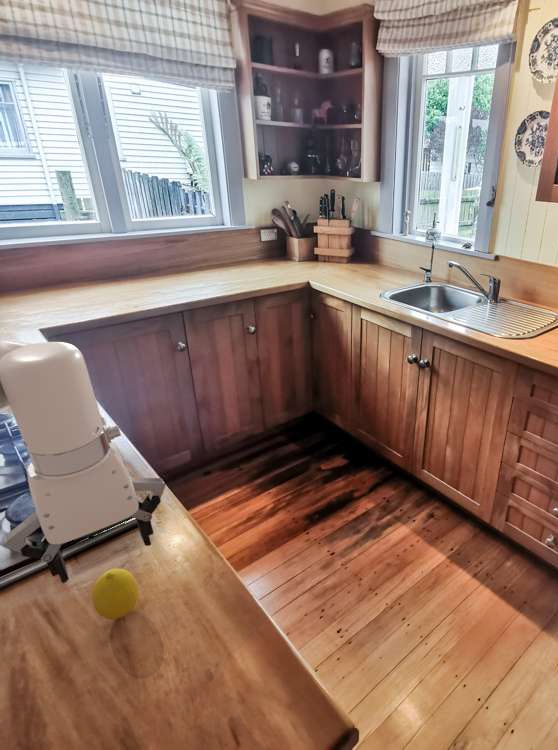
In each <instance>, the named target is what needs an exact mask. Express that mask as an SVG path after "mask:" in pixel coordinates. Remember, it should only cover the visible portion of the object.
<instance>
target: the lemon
mask: <svg viewBox="0 0 558 750" xmlns="http://www.w3.org/2000/svg"><path fill="white" fill-rule="evenodd" d="M139 592H140V591H139V584H138V581H137V580H136V578H135V577H134V575H133V574H132V573H131V572H130V571H128V570H127V569H123V568H112V569H109V570H107V571H105V572H103V573H102V574H101V575H100V576H99V577H98V578H97V579H96V581H95V582H94V584H93V587H92V593H91V600H92V604H93V605H92V606H93V608H94V610H95V611H96V613H97V614H98V615H99V616H100V617H102V618H104V619H107V620H117V619H121V618H123V617H125V616H126V615H128V614H129V613H130V612H131V611H132V610H133V609H134V608H135V606H136V604H137V602H138V599H139V594H140V593H139Z"/></svg>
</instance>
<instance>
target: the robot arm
mask: <svg viewBox="0 0 558 750" xmlns="http://www.w3.org/2000/svg"><path fill="white" fill-rule="evenodd" d="M93 388H94V387H93V385H92V382H91V378H90V374H89V371H88V367H87V364H86V360H85V358H84V355H83V354H82V352H81V350H79V349H78V348H77V347H76V346H75V345H73V344H71V343H67V342H65V341H45V342H43V341H42V342H36V343H31V342H25V341H20V340H17V339H11V338H7V337H1V336H0V410H2V409H4V408H6V407H8V406H9V408H10V410H11V412H12V415H13V418H14V421H15V423H16V425H17V429H18V430H19V433H20V435H21V438H22V441H23V444H24V446H25V449H26V451H27V454H28V456H29V459H30V461H31V462H30V463H29V464H28V466H27V468H26V473H27V474H26V476H27V482H28V488H29V492H30V496H31V500H32V503H33V506H34V510H35V511H34V512H33V513H32V514H30V515H29V516H28V517H27V518H26V519H24V520H22V521H21V523H19V524H18V525H17V526H16V527H14V528H13V529H12V530H10V531H9V532H8V533H7V534H5V535H4V540H3V541H4V546H5V547H6V548H8V549H10V550H12V551H13V552H16V553H19V554H21V556H22V557H26V558H32V559H39V560H41V562H42V563H46V565H47V567H48V569H49V572H50V575H51V576H52V577H56V576H59V579H60V581H61V583H62V584H65V583H67V582H68V581H69V574H68V569H67V565H66V563H65V560H64V557H63V554H62V552H61V550H60V548H62V546H61V545H62V544H63V543H66V542H69V541H71V540H74V539H77V538H79V537H82V536H84V535H87V534H90V533H92V532H95V531H97V530H100V529H102V528H105V527H107V526H110V525H112V524H114V523H117V522H119V521H122V520H124V519H126V518H128V517H130V516H131V517H133V518H136V520H135V521H136V524H137V529H138V531H139V535H140V537H141V539H142V542H143V544H144V546H145V547H146V546H147V547H149V546H151V545H152V541H151V538H150V536H151V535H154V528H153V526H152V521H151V520H152V519H153V514H154V512H155V510H156V509H157V508H158V506H159V505H160V503H161V502H162V499H161V498H162V496H163V494H164V491H165V489H166V483H165V481H164V479H163V478H161V477H131V475H130V471H129V469H128V467H127V464H126V461H125V458H124V457H123V455H122V453H121V451H120V449H119V447H118V445H117V444H116V442H115V441H114V440H115V438H118V437H121V436H122V435H121V430H120V428H119V426H118V425H115V426H107V424H106V425H104V426H103V423H102V419H101V417H102V415H101V412H100V408H99V406H98V402H97V398H96V395H95V391H94V389H93ZM100 415H101V416H100ZM137 492H149V493H148V494H147V495H146V497H145V498H144V500H140V499H138V495H137ZM39 528H41V531H42V533H43V535H44V536H43V537H42V538H41V540H37V539H30V538H28V537H29V536H31V535H32V533H34V532H35V531H37V530H38V529H39Z"/></svg>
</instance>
